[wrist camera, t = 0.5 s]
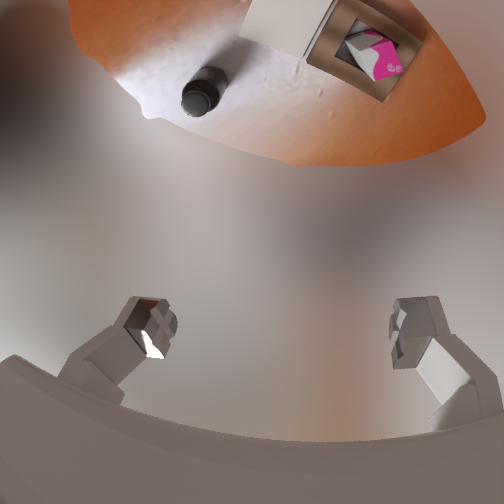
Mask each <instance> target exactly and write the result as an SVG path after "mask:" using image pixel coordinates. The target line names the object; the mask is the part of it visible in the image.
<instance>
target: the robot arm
mask: <svg viewBox="0 0 504 504" xmlns="http://www.w3.org/2000/svg"><path fill="white" fill-rule="evenodd" d="M169 306H170V305H169V303H168V302H167V300H166V299H161V298H150V297H138V296H133V297H131V298H130V299H129V300H128V302H127V303H126V305H125V307H124V308H123V310H122V311H121V313H120V315H119V316H118V318H117V320H116V321H115V323H114V325H113V326H109V327H107V328H106V329H105V330H103V331H102V332H100V333H99V334H97V335H96V336H94V337H93V338H92V339H90V340H89V341H88V342H86V343H85V344H83V345H82V346H81V347H79V348H78V349H76V350H75V351H74V352H72V353H71V354H70V356H69V357H68V359H67V361H66V363H65V365H64V366H63V368H62V370H61V371H60V373H59V375H58V377H55V376H53V375H52V374H49V373H48V372H46V371H44V370H42V369H40V368H39V367H37V366H35V365H34V364H32V363H30V362H28V361H27V360H25V359H24V358H22V357H21V356H18V355H12V356H10V357H8V358H6V359H5V360H3V361H2V362H1V363H0V504H504V409H503V403H502V398H501V393H500V389H499V384H498V380H497V376H496V375H495V374H494V373H493V372H492V371H491V370H490V368H489V367H488V366H487V365H486V364H485V363H484V362H483V361H482V360H481V359H480V358H479V357H478V356H477V355H476V354H475V353H474V352H473V351H472V350H471V349H470V348H469V347H468V346H467V345H465V343H463V342H462V341H461V340H460V339H459V338H458V337H457V336H456V335H455V334H451V333H450V330H449V327H448V323H447V320H446V317H445V314H444V311H443V308H442V305H441V302H440V300H439V297H437V296H427V297H413V298H400V299H396V300H395V303H394V306H393V307H394V313H393V314H392V315H391V318H390V322H389V339H390V342H391V343H392V344H393V345H394V347H393V350H392V353H391V354H392V362H393V369H405V368H416V370H417V371H418V372H419V374H420V375H421V377H422V378H423V379H424V381H425V382H426V383H427V385H428V386H429V388H430V389H431V391H432V392H433V393H434V395H435V396H436V398H437V399H438V401H439V402H440V403H441V405H442V406H441V407H440V408H439V409H438V410H437V411H436V412H435V413H434V414H433V415H432V416H431V417H430V429H431V432H429V433H424V434H418V435H413V436H406V437H399V438H391V439H381V440H370V441H354V442H299V441H283V440H270V439H260V438H253V437H245V436H238V435H232V434H226V433H220V432H215V431H209V430H205V429H200V428H196V427H191V426H187V425H183V424H179V423H175V422H171V421H168V420H164V419H160V418H157V417H154V416H150V415H147V414H144V413H141V412H138V411H135V410H132V409H129V408H126V407H124V406H121V405H120V404H121V402H122V400H123V397H124V392H123V391H122V390H121V389H120V388H119V387H118V386H117V385H118V384H119V383H120V382H121V381H122V380H123V379H124V378H125V377H127V376H128V374H130V372H132V371H133V370H134V369H135V368H136V367H137V366H138V365H139V364H140V363H141V362H142V361H143V360H145V359H146V358H147V356H151V357H157V358H165V356H166V354H167V352H168V349H169V347H170V342H169V340H170V339H171V338H172V337H174V335H175V333H176V330H177V318H176V316H175V314H174V313H173V312H172V311H171V310H169Z"/></svg>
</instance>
